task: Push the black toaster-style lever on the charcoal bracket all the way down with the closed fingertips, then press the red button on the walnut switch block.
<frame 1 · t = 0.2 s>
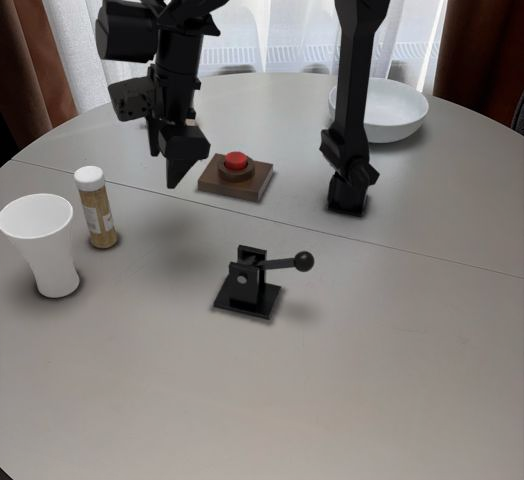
hand: (162, 171, 87), 15 cm above the table, tool pointing down, fingers open, 9 cm apart
sprinkles bottle: (104, 241, 100), on the table
button: (235, 161, 109), point 4 cm above the table, slide at 0.1 cm
lever: (275, 264, 84), point 9 cm above the table, hinge at 22.0°
switch block: (236, 181, 112), on the table
cup: (59, 284, 93), on the table
serving bowl: (372, 130, 126), on the table
teacup with lid: (168, 129, 125), on the table
bracket: (247, 300, 92), on the table
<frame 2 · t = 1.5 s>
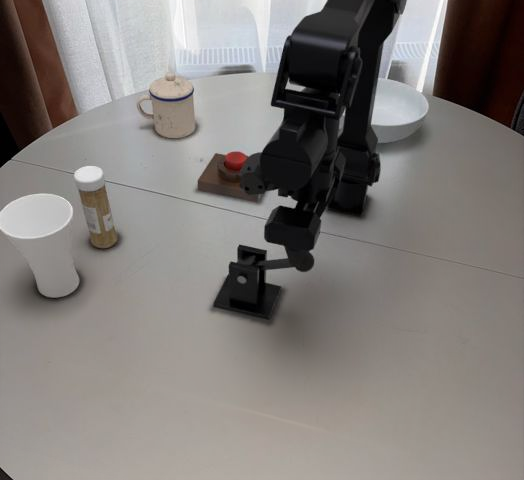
hand: (302, 246, 80), 13 cm above the table, tool pointing down, fingers open, 8 cm apart
nothing on the table moved.
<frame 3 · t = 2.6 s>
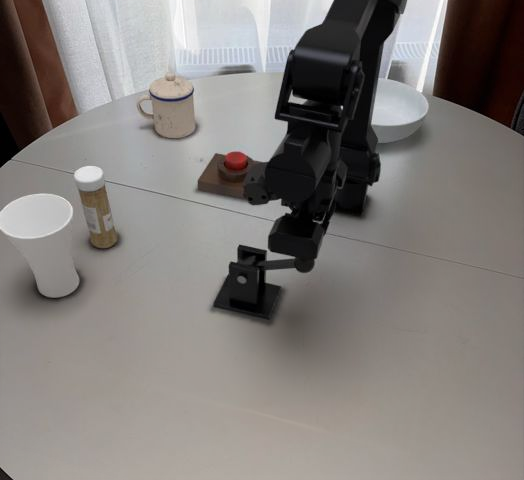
hand: (304, 254, 81), 12 cm above the table, tool pointing down, fingers closed
lever: (275, 264, 85), point 9 cm above the table, hinge at 20.8°, touching gripper
everything else where it was.
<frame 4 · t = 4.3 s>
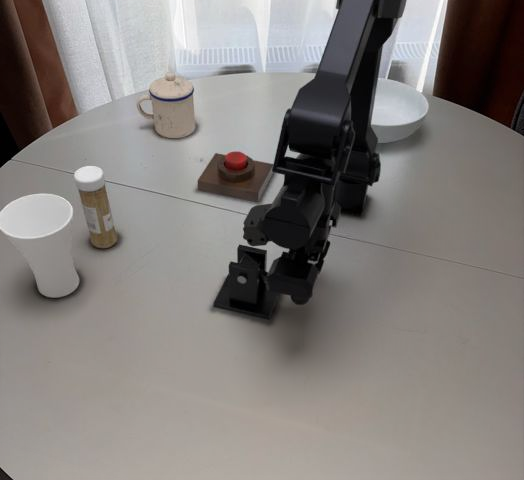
hand: (301, 288, 87), 5 cm above the table, tool pointing down, fingers closed, pressing on lever
lever: (274, 281, 87), point 5 cm above the table, hinge at -22.2°, touching gripper
everything else where it was.
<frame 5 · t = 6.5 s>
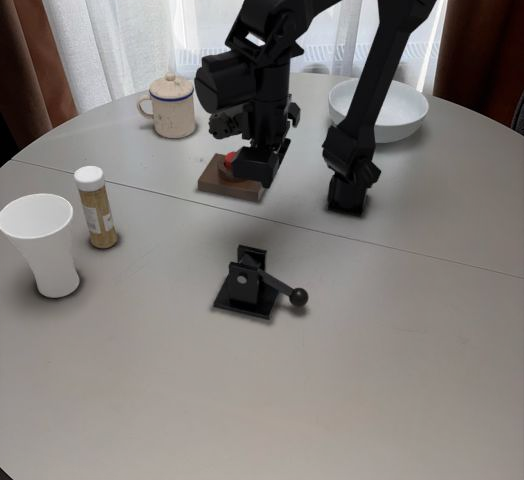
hand: (266, 187, 93), 11 cm above the table, tool pointing down, fingers closed
lever: (273, 282, 87), point 5 cm above the table, hinge at -25.5°
everything else where it was.
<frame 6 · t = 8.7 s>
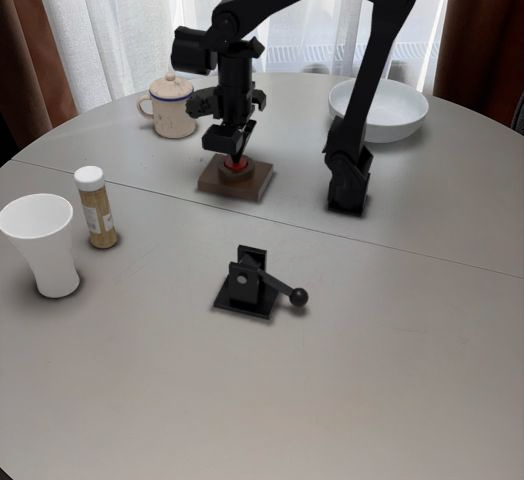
hand: (236, 162, 109), 4 cm above the table, tool pointing down, fingers closed, pressing on button
button: (236, 166, 110), point 3 cm above the table, slide at -0.9 cm, touching gripper
everything else where it was.
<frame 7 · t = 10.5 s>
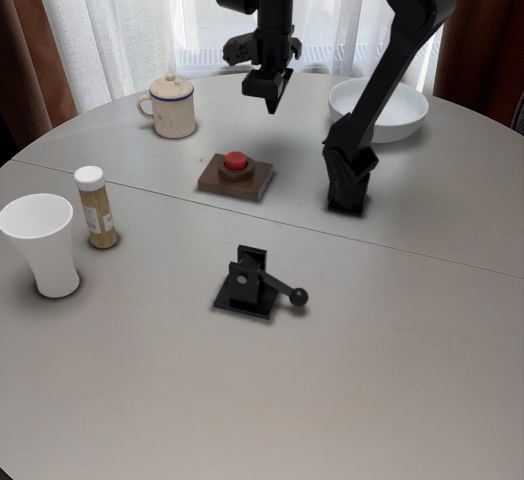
hand: (271, 113, 106), 12 cm above the table, tool pointing down, fingers closed
button: (235, 161, 109), point 4 cm above the table, slide at 0.1 cm
everything else where it was.
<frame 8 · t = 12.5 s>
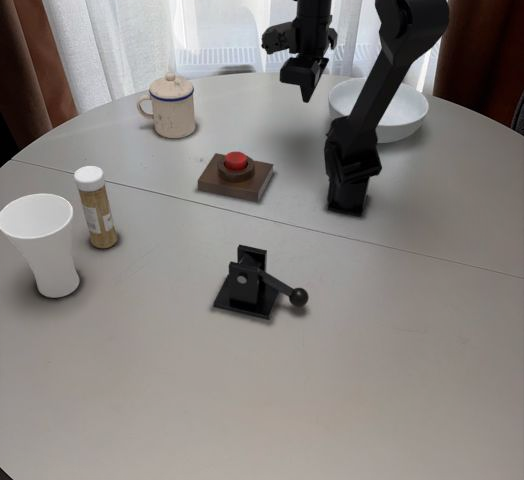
hand: (306, 101, 109), 12 cm above the table, tool pointing down, fingers closed
nothing on the table moved.
at the end: lever at -26° (first picture: +22°); button pushed in 1.1 cm at the most during the clip, back to where it started at the end; button slide at 0.1 cm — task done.
